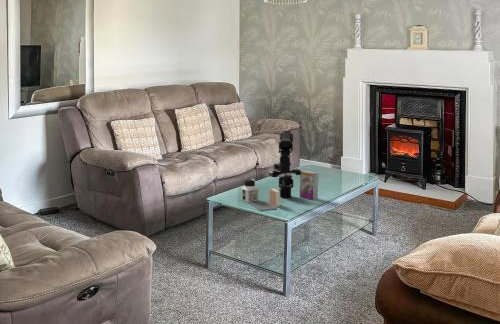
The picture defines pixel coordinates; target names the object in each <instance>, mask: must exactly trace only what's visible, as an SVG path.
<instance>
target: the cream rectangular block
mask: <svg viewBox="0 0 500 324" xmlns="http://www.w3.org/2000/svg"><path fill="white" fill-rule="evenodd" d="M280 198H281V197H280V191H279V190H278V189H276V188H269V204H271V205H273V206H274V207H276V208H277V207H281V205H280V204H281V199H280Z"/></svg>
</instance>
